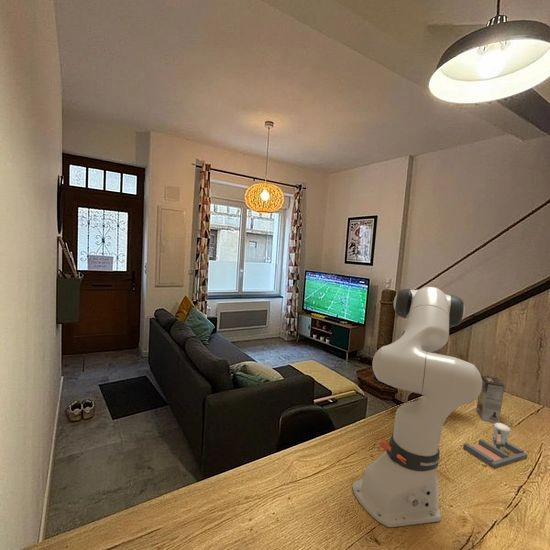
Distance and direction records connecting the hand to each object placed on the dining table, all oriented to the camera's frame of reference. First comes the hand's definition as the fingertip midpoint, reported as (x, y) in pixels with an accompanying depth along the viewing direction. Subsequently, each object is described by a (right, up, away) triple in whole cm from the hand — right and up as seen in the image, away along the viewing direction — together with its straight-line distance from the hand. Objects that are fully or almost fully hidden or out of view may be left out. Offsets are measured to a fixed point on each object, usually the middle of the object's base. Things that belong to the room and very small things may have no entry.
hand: (469, 395), depth 120 cm
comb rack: (0, -14, -12) cm, 19 cm away
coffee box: (+15, -14, +13) cm, 24 cm away
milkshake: (+4, -15, -11) cm, 19 cm away
